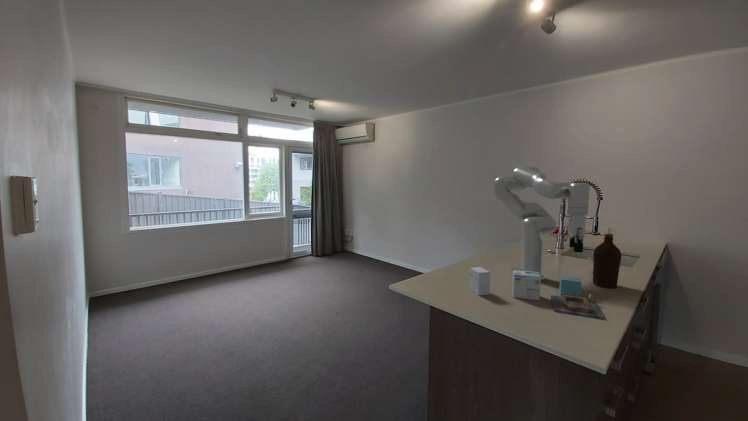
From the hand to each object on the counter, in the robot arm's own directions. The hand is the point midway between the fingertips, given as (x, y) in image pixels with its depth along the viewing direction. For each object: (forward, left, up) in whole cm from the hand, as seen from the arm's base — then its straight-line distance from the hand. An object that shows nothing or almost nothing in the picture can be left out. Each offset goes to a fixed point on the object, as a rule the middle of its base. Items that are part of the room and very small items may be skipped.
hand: (575, 249), depth 137 cm
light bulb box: (-19, -12, -20) cm, 31 cm away
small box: (-38, -15, -20) cm, 46 cm away
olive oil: (+16, +19, -20) cm, 32 cm away
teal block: (-1, -1, -20) cm, 20 cm away
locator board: (-1, -16, -20) cm, 26 cm away
